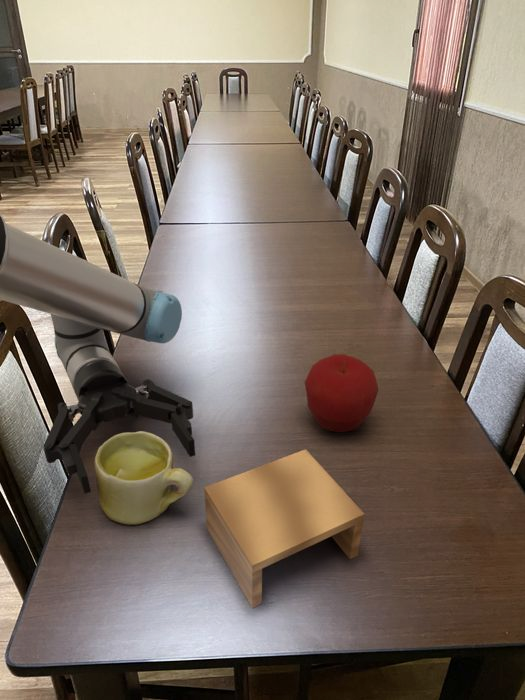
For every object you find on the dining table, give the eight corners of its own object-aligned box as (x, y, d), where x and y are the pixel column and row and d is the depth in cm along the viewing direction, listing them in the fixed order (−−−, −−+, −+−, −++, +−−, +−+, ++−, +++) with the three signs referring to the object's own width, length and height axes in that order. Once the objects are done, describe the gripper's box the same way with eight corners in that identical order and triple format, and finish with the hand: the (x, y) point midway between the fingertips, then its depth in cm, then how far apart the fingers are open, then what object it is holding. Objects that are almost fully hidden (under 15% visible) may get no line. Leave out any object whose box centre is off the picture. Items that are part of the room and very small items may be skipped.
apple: (299, 403, 88) (303, 341, 82) (364, 402, 88) (372, 341, 82) (306, 448, 79) (310, 382, 72) (379, 447, 79) (389, 381, 73)
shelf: (252, 608, 57) (252, 565, 53) (206, 528, 66) (203, 487, 62) (358, 555, 63) (364, 513, 59) (303, 488, 72) (305, 448, 68)
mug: (66, 504, 66) (84, 437, 63) (124, 474, 75) (143, 415, 72) (137, 563, 62) (161, 496, 58) (190, 525, 71) (213, 464, 67)
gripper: (175, 379, 90) (231, 456, 74) (17, 424, 79) (42, 524, 64) (172, 340, 86) (230, 412, 70) (5, 382, 76) (28, 478, 60)
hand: (141, 466), depth 67 cm, fingers open, 13 cm apart
